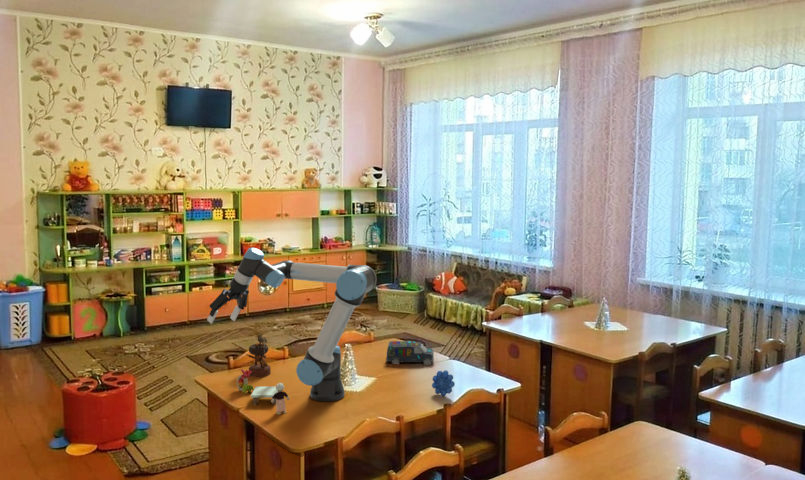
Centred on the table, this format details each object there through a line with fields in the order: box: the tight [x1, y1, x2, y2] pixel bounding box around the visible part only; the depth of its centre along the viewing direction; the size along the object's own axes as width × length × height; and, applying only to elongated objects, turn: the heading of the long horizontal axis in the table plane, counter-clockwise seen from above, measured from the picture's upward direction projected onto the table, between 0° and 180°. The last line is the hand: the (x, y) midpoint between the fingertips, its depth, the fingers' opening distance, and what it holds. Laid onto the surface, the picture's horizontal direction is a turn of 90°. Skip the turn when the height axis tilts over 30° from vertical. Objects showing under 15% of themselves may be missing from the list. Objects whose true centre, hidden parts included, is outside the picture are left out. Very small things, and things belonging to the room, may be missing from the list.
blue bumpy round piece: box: [431, 370, 456, 397], centre depth 294 cm, size 12×7×12 cm, turn 54°
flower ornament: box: [236, 368, 255, 395], centre depth 296 cm, size 6×11×9 cm
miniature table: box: [250, 385, 278, 406], centre depth 286 cm, size 11×11×4 cm
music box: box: [246, 333, 271, 378], centre depth 321 cm, size 15×11×20 cm
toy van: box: [385, 340, 435, 366], centre depth 344 cm, size 11×25×10 cm, turn 88°
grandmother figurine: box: [270, 382, 290, 416], centre depth 272 cm, size 8×4×13 cm, turn 132°
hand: (221, 320), depth 290 cm, fingers open, 13 cm apart
